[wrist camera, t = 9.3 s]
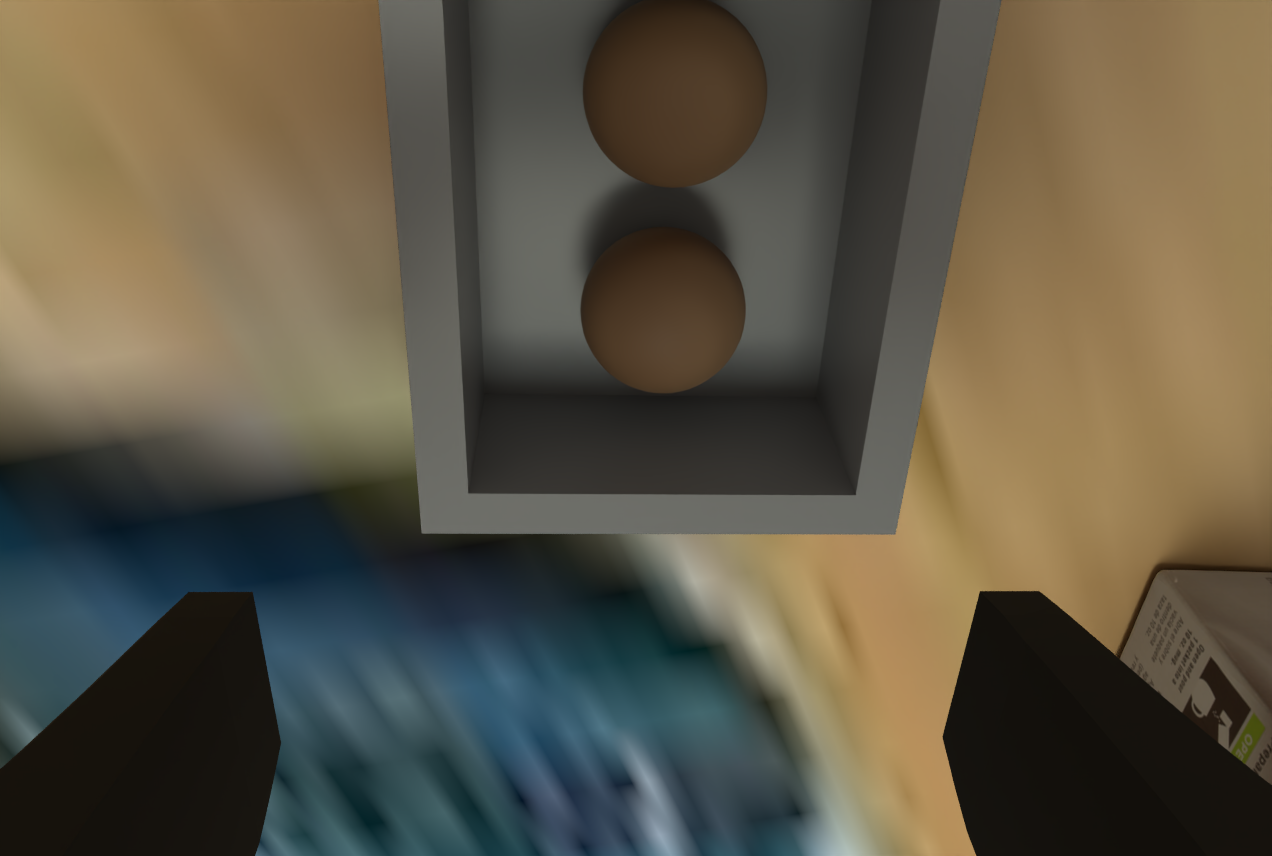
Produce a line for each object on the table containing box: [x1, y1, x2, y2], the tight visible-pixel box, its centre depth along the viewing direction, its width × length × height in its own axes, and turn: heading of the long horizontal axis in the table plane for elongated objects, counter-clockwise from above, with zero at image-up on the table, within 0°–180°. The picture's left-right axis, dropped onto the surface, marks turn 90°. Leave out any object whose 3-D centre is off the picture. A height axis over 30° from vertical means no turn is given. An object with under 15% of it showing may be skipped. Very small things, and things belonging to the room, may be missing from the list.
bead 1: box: [583, 0, 767, 188], centre depth 16 cm, size 3×3×3 cm
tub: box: [379, 0, 1001, 534], centre depth 17 cm, size 8×10×4 cm
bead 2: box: [580, 227, 746, 393], centre depth 18 cm, size 3×3×3 cm
